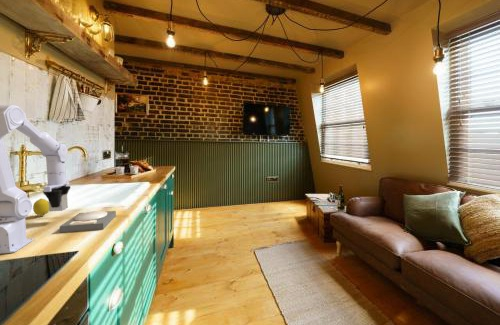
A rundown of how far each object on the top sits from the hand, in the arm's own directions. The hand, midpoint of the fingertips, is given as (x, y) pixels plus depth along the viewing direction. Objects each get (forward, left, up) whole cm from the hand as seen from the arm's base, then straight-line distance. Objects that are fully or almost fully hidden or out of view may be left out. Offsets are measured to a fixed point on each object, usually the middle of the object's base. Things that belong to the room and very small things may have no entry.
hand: (58, 205), depth 94 cm
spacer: (0, 0, -2) cm, 2 cm away
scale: (-5, -13, -7) cm, 16 cm away
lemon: (+10, +11, -7) cm, 17 cm away
